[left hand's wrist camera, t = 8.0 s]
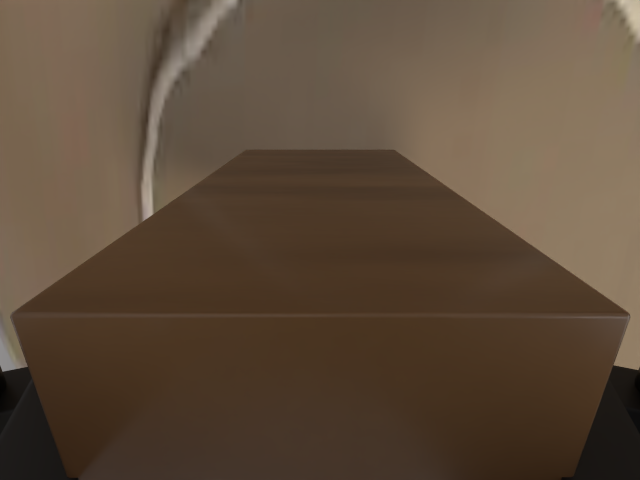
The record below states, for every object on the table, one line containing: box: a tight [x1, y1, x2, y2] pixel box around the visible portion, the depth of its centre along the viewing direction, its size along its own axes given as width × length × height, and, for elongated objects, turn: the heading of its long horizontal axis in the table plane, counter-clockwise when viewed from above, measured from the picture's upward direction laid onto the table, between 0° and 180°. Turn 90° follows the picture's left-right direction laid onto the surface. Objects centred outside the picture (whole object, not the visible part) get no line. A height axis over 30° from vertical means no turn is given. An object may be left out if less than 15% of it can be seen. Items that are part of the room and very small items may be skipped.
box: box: [11, 150, 630, 480], centre depth 13 cm, size 20×6×13 cm, turn 0°
